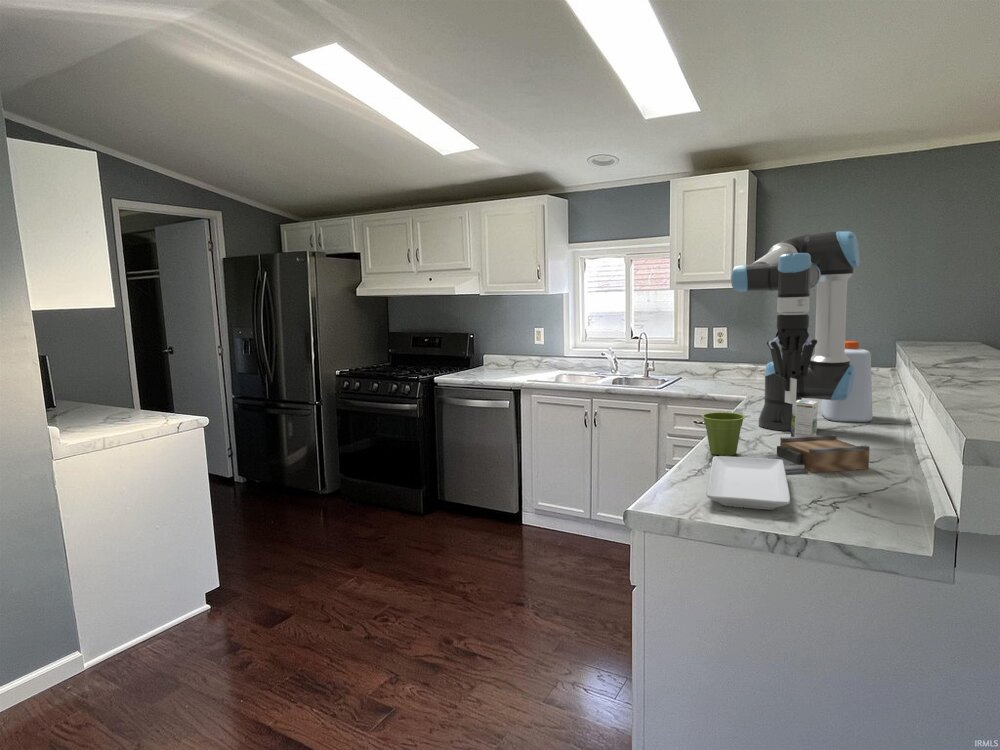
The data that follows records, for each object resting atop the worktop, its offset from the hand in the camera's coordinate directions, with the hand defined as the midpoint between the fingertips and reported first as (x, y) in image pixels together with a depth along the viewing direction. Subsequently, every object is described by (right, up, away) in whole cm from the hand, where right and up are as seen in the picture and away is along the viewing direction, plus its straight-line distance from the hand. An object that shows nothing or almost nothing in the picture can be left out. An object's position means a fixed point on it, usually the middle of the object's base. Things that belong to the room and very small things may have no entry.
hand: (790, 402), depth 159 cm
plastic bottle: (+49, -9, +59) cm, 77 cm away
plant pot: (-12, -16, +16) cm, 26 cm away
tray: (-19, -20, -17) cm, 32 cm away
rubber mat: (-7, -17, +1) cm, 19 cm away
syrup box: (+12, -15, +18) cm, 26 cm away
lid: (-5, -17, +1) cm, 18 cm away
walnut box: (+10, -17, +3) cm, 20 cm away
